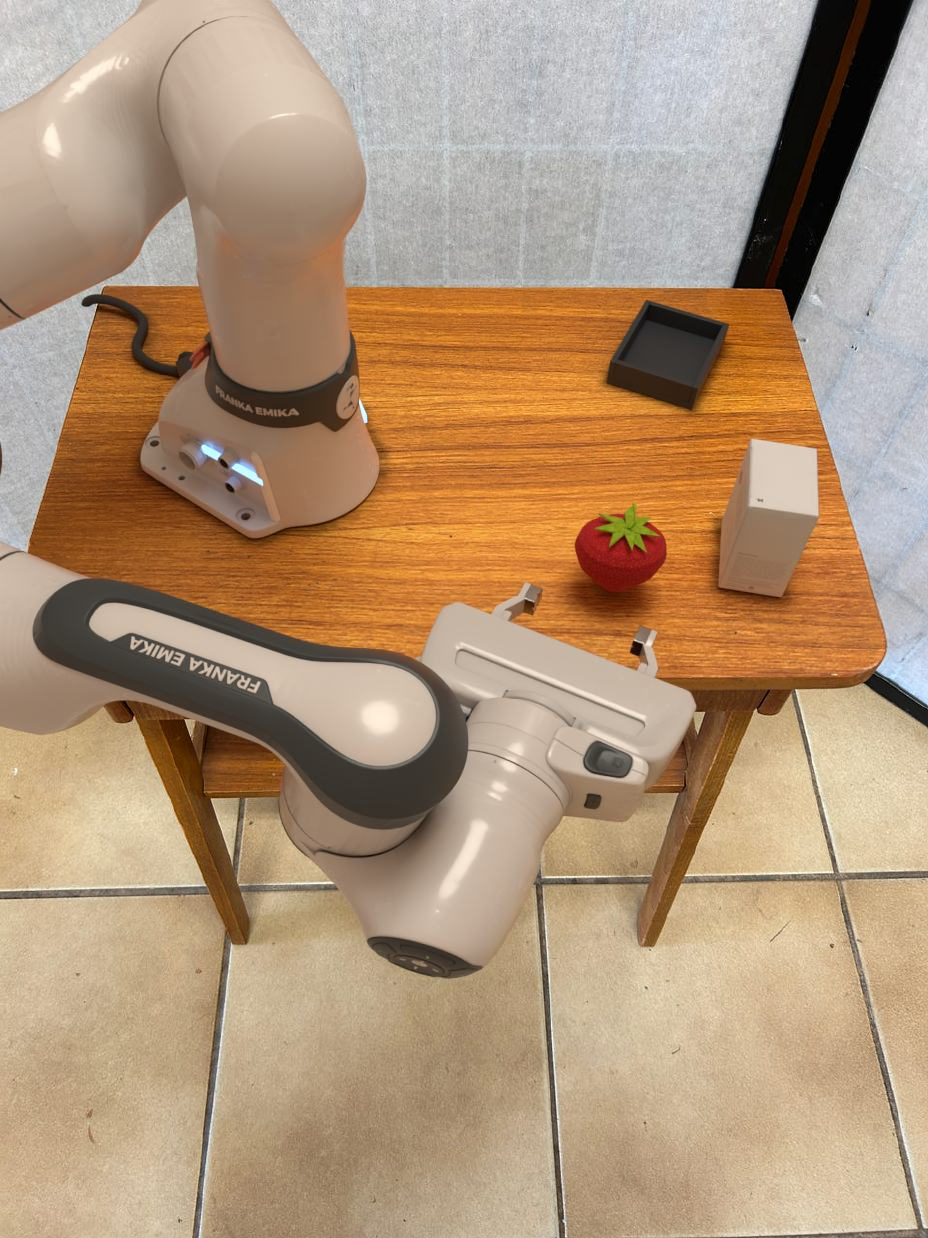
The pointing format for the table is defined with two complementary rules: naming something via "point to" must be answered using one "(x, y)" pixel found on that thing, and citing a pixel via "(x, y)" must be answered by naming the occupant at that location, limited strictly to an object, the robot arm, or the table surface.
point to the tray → (667, 354)
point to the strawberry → (620, 550)
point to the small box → (768, 517)
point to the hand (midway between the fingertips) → (590, 610)
